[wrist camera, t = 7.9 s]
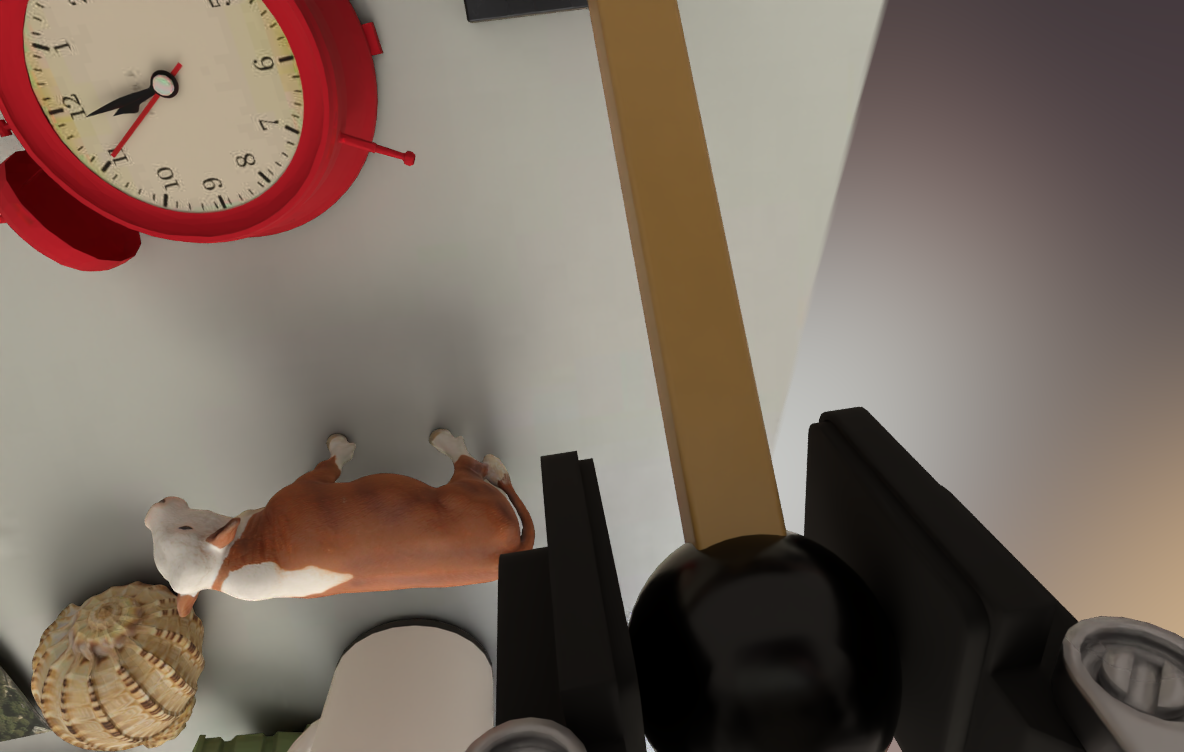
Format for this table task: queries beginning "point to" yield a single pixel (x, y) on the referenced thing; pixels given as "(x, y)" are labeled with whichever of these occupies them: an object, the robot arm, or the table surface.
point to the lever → (724, 462)
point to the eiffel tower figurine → (17, 712)
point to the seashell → (119, 669)
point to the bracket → (517, 8)
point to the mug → (406, 692)
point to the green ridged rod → (249, 743)
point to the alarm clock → (179, 120)
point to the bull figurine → (347, 533)
